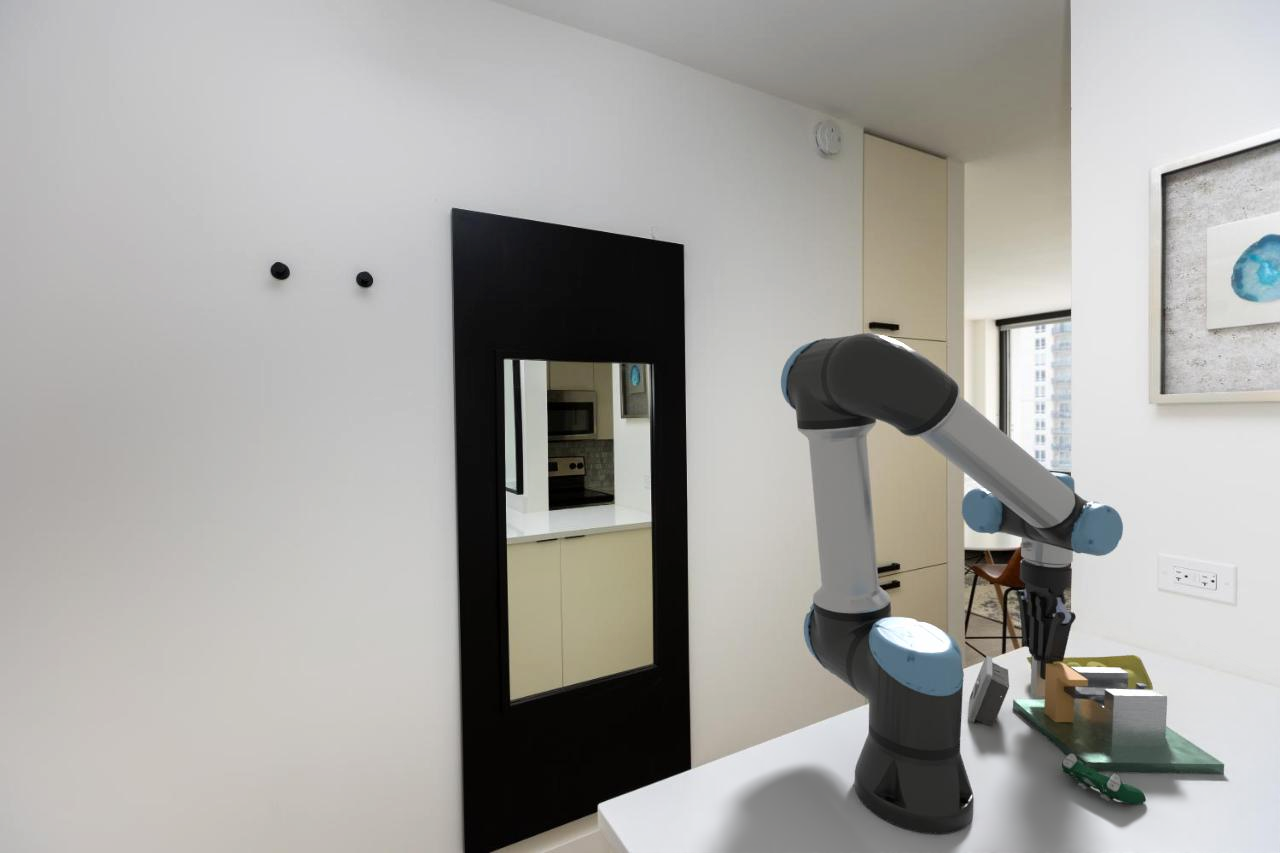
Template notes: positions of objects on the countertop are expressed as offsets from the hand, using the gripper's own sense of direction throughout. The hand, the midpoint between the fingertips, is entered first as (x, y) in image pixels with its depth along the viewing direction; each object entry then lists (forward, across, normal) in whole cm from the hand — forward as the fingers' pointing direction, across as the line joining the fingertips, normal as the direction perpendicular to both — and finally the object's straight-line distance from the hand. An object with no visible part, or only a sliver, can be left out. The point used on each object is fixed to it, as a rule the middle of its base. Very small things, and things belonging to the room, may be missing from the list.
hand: (1040, 693), depth 110 cm
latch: (+2, +6, 0) cm, 7 cm away
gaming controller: (+4, +22, -5) cm, 23 cm away
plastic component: (+4, -11, +15) cm, 18 cm away
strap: (-4, +8, +6) cm, 11 cm away
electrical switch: (+4, +1, -10) cm, 11 cm away
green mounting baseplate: (+3, +8, +6) cm, 11 cm away
